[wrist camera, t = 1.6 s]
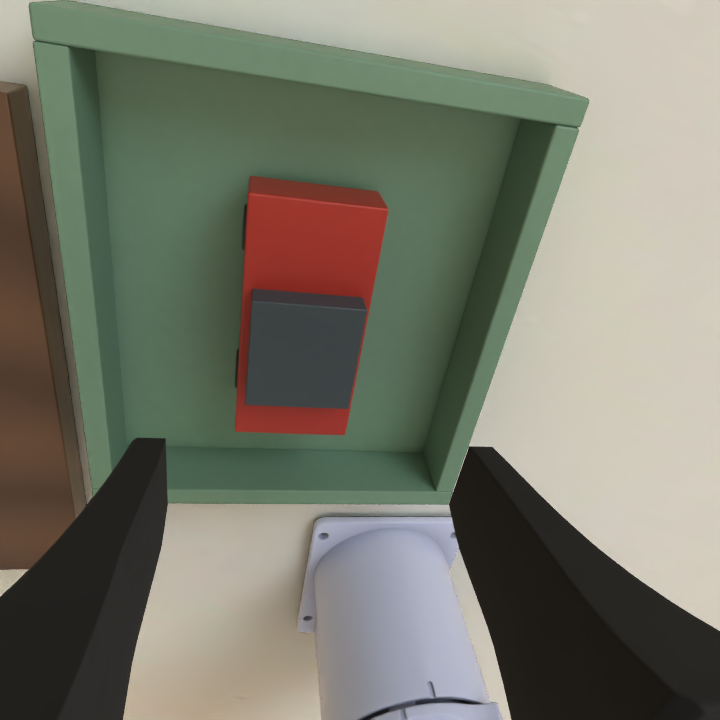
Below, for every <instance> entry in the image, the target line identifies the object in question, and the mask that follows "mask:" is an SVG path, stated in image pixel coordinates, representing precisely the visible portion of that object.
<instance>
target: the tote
mask: <svg viewBox="0 0 720 720" xmlns="http://www.w3.org/2000/svg"><path fill="white" fill-rule="evenodd" d="M29 12H30V20H31V27H32V35H33V38H34V40H36V41H34V42H33V47H34V55H35V62H36V70H37V77H38V85H39V93H40V100H41V108H42V115H43V123H44V131H45V138H46V146H47V153H48V161H49V168H50V176H51V184H52V191H53V199H54V206H55V214H56V221H57V229H58V237H59V244H60V252H61V259H62V267H63V274H64V282H65V290H66V297H67V305H68V312H69V320H70V327H71V335H72V343H73V350H74V358H75V365H76V373H77V380H78V388H79V396H80V403H81V411H82V418H83V426H84V433H85V441H86V449H87V456H88V464H89V471H90V479H91V486H92V494H93V497H94V495H95V494H96V493H97V491H98V490H99V489H100V487H101V486H102V485H103V484H104V482H105V481H106V479H107V478H108V477H109V475H110V474H111V472H112V471H113V470H114V468H115V467H116V465H117V464H118V462H119V461H120V459H121V458H122V456H123V455H124V453H125V452H126V450H127V448H128V447H129V445H130V443H131V442H132V441H133V440H134V439H136V438H166V463H167V495H168V503H199V504H440V505H448V504H449V501H450V498H451V495H452V491H453V488H454V486H455V483H456V480H457V477H458V474H459V471H460V469H461V466H462V463H463V460H464V457H465V454H466V451H467V449H468V446H469V443H470V440H471V437H472V434H473V431H474V429H475V426H476V423H477V420H478V417H479V414H480V412H481V409H482V406H483V403H484V400H485V397H486V394H487V392H488V389H489V386H490V383H491V380H492V377H493V375H494V372H495V369H496V366H497V363H498V360H499V357H500V355H501V352H502V349H503V346H504V343H505V340H506V337H507V335H508V332H509V329H510V326H511V323H512V320H513V318H514V315H515V312H516V309H517V306H518V303H519V300H520V298H521V295H522V292H523V289H524V286H525V283H526V280H527V278H528V275H529V272H530V269H531V266H532V263H533V261H534V258H535V255H536V252H537V249H538V246H539V243H540V241H541V238H542V235H543V232H544V229H545V226H546V223H547V221H548V218H549V215H550V212H551V209H552V206H553V204H554V201H555V198H556V195H557V192H558V189H559V186H560V184H561V181H562V178H563V175H564V172H565V169H566V166H567V164H568V161H569V158H570V155H571V152H572V149H573V147H574V144H575V141H576V138H577V135H578V132H579V129H578V128H577V127H580V126H581V124H582V121H583V118H584V115H585V112H586V109H587V107H588V104H589V99H588V98H585V97H583V96H580V95H577V94H574V93H571V92H568V91H565V90H562V89H559V88H556V87H553V86H551V85H547V84H542V83H536V82H530V81H525V80H519V79H513V78H507V77H502V76H496V75H490V74H485V73H479V72H473V71H468V70H462V69H456V68H451V67H445V66H439V65H433V64H428V63H422V62H416V61H411V60H405V59H399V58H394V57H388V56H382V55H376V54H371V53H365V52H359V51H354V50H348V49H342V48H337V47H331V46H325V45H320V44H314V43H308V42H302V41H297V40H291V39H285V38H280V37H274V36H268V35H263V34H257V33H251V32H245V31H240V30H234V29H228V28H223V27H217V26H211V25H206V24H200V23H194V22H189V21H183V20H177V19H171V18H166V17H160V16H154V15H149V14H143V13H137V12H132V11H126V10H120V9H114V8H109V7H103V6H97V5H92V4H86V3H80V2H75V1H69V0H58V1H43V2H31V3H29ZM250 176H257V177H265V178H273V179H282V180H290V181H298V182H306V183H314V184H322V185H330V186H338V187H346V188H354V189H363V190H371V191H378V192H379V193H380V195H381V197H382V198H383V200H384V202H385V204H386V206H387V207H388V210H389V212H388V217H387V222H386V227H385V232H384V237H383V243H382V248H381V253H380V258H379V263H378V269H377V274H376V279H375V284H374V289H373V294H372V300H371V305H370V310H369V315H368V320H367V326H366V331H365V336H364V341H363V346H362V352H361V357H360V362H359V367H358V372H357V377H356V383H355V388H354V393H353V398H352V403H351V409H350V414H349V419H348V424H347V429H346V434H345V435H319V434H286V433H253V432H236V431H235V416H236V397H237V388H235V369H236V353H237V349H239V342H240V324H241V306H242V287H243V269H244V250H242V232H243V215H244V205H245V204H247V196H248V183H249V177H250Z"/></svg>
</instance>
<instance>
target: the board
mask: <svg viewBox="0 0 720 720" xmlns="http://www.w3.org/2000/svg"><path fill="white" fill-rule="evenodd" d="M85 507H86V499H85V492H84V485H83V478H82V471H81V464H80V457H79V450H78V443H77V436H76V429H75V422H74V415H73V408H72V401H71V394H70V387H69V380H68V373H67V366H66V359H65V352H64V345H63V338H62V331H61V324H60V317H59V310H58V303H57V295H56V288H55V281H54V274H53V267H52V260H51V253H50V246H49V239H48V232H47V225H46V218H45V211H44V204H43V197H42V190H41V183H40V176H39V169H38V162H37V155H36V148H35V141H34V134H33V127H32V120H31V113H30V106H29V99H28V92H27V87H26V86H25V85H21V84H14V83H7V82H1V81H0V570H9V569H30V568H31V567H32V566H33V565H34V564H35V563H36V562H37V561H38V560H39V559H40V558H41V557H42V556H43V555H44V554H45V553H46V552H47V551H48V549H49V548H50V547H51V546H52V545H53V544H54V543H55V542H56V541H57V540H58V538H59V537H60V536H61V535H62V534H63V533H64V532H65V530H66V529H67V528H68V527H69V526H70V525H71V523H72V522H73V521H74V520H75V519H76V518H77V517H78V515H79V514H80V513H81V512H82V511H83V509H84V508H85Z"/></svg>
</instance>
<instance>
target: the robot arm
mask: <svg viewBox="0 0 720 720" xmlns="http://www.w3.org/2000/svg"><path fill="white" fill-rule="evenodd" d="M167 505H168V495H167V463H166V438H136V439H134V440H133V441H132V442H131V443H130V445H129V447H128V448H127V450H126V452H125V453H124V455H123V456H122V458H121V459H120V461H119V462H118V464H117V465H116V467H115V468H114V470H113V471H112V472H111V474H110V475H109V477H108V478H107V479H106V481H105V482H104V484H103V485H102V486H101V487H100V489H99V490H98V491H97V493H96V494H95V495H94V497H93V498H92V499H91V500H90V502H89V503H88V504H87V506H86V507H85V508H84V509H83V511H82V512H81V513H80V514H79V515H78V517H77V518H76V519H75V520H74V521H73V522H72V523H71V525H70V526H69V527H68V528H67V529H66V530H65V532H64V533H63V534H62V535H61V536H60V537H59V538H58V540H57V541H56V542H55V543H54V544H53V545H52V546H51V547H50V548H49V549H48V551H47V552H46V553H45V554H44V555H43V556H42V557H41V558H40V559H39V560H38V561H37V562H36V563H35V564H34V565H33V566H32V567H31V568H30V569H29V570H28V571H27V572H26V573H25V574H24V575H23V576H22V577H21V578H20V579H19V580H18V581H17V582H16V583H15V584H14V585H13V586H12V587H10V588H9V589H8V590H7V591H6V592H5V593H4V594H3V595H2V596H1V597H0V720H123V715H124V709H125V703H126V696H127V690H128V684H129V678H130V672H131V666H132V661H133V656H134V652H135V647H136V643H137V639H138V635H139V631H140V627H141V623H142V620H143V616H144V612H145V608H146V604H147V600H148V597H149V593H150V589H151V585H152V581H153V577H154V574H155V570H156V566H157V562H158V558H159V554H160V550H161V546H162V540H163V533H164V526H165V519H166V512H167ZM449 506H450V511H451V516H452V517H322V518H319V519H318V520H316V521H315V523H314V527H313V533H312V539H311V545H310V550H309V556H308V562H307V568H306V573H305V579H304V585H303V591H302V597H301V602H300V608H299V614H298V620H297V630H298V631H299V632H301V633H315V643H316V656H317V669H318V682H319V695H320V708H321V720H503V719H502V716H501V713H500V710H499V707H498V704H497V703H496V702H491V701H490V698H489V695H488V691H487V688H486V685H485V682H484V679H483V676H482V672H481V669H480V666H479V663H478V660H477V657H476V654H475V650H474V647H473V644H472V641H471V638H470V635H469V631H468V628H467V625H466V622H465V619H464V616H463V613H462V609H461V606H460V603H459V600H458V597H457V594H456V591H455V587H454V584H453V581H452V578H451V575H450V572H449V570H450V568H451V565H452V563H453V560H454V557H455V555H456V552H457V550H458V547H459V549H460V552H461V554H462V557H463V560H464V563H465V566H466V569H467V571H468V574H469V577H470V580H471V582H472V585H473V588H474V591H475V593H476V596H477V599H478V602H479V604H480V607H481V610H482V613H483V615H484V618H485V621H486V624H487V626H488V629H489V633H490V636H491V639H492V642H493V645H494V649H495V653H496V657H497V661H498V665H499V669H500V673H501V677H502V680H503V684H504V689H505V693H506V697H507V702H508V706H509V710H510V715H511V719H512V720H720V631H718V630H717V629H715V628H713V627H712V626H710V625H708V624H707V623H705V622H703V621H701V620H700V619H698V618H696V617H695V616H693V615H691V614H690V613H688V612H687V611H685V610H683V609H682V608H680V607H679V606H677V605H676V604H674V603H672V602H671V601H669V600H668V599H666V598H665V597H663V596H662V595H660V594H659V593H658V592H656V591H655V590H653V589H652V588H650V587H649V586H647V585H646V584H644V583H643V582H641V581H640V580H639V579H637V578H636V577H635V576H633V575H632V574H630V573H629V572H628V571H626V570H625V569H624V568H623V567H621V566H620V565H619V564H617V563H616V562H615V561H614V560H612V559H611V558H610V557H608V556H607V555H606V554H605V553H603V552H602V551H601V550H600V549H598V548H597V547H596V546H595V545H594V544H592V543H591V542H590V541H589V540H588V539H587V538H586V537H584V536H583V535H582V534H581V533H580V532H579V531H578V530H577V529H575V528H574V527H573V526H572V525H571V524H570V523H569V522H568V521H567V520H565V519H564V518H563V517H562V516H561V515H560V514H559V513H558V512H557V511H556V510H555V509H554V508H553V507H552V506H551V505H550V504H549V503H548V502H547V501H546V500H545V499H544V498H543V497H541V496H540V495H539V494H538V493H537V492H536V491H535V490H534V489H533V488H532V486H531V485H530V484H529V483H528V482H527V481H526V480H525V479H524V478H523V477H522V476H521V475H520V474H519V473H518V472H517V471H516V470H515V469H514V468H513V467H512V466H511V465H510V464H509V463H508V462H507V461H506V460H505V459H504V458H503V457H502V456H501V455H500V454H499V453H498V452H497V451H496V450H495V449H494V448H493V447H469V449H468V452H467V455H466V458H465V460H464V463H463V466H462V469H461V472H460V475H459V477H458V480H457V483H456V486H455V489H454V492H453V494H452V497H451V500H450V503H449Z"/></svg>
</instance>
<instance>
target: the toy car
mask: <svg viewBox="0 0 720 720" xmlns="http://www.w3.org/2000/svg"><path fill="white" fill-rule="evenodd" d="M388 212H389V210H388V207H387V206H386V204H385V202H384V200H383V198H382V197H381V195H380V193H379V192H378V191H371V190H363V189H354V188H346V187H338V186H330V185H322V184H314V183H306V182H298V181H290V180H282V179H273V178H265V177H257V176H250V177H249V183H248V196H247V204H245V205H244V215H243V232H242V250H244V269H243V287H242V306H241V324H240V342H239V349H237V353H236V369H235V388H237V397H236V416H235V431H236V432H253V433H286V434H319V435H345V434H346V429H347V424H348V419H349V414H350V409H351V403H352V398H353V393H354V388H355V383H356V377H357V372H358V367H359V362H360V357H361V352H362V346H363V341H364V336H365V331H366V326H367V320H368V315H369V310H370V305H371V300H372V294H373V289H374V284H375V279H376V274H377V269H378V263H379V258H380V253H381V248H382V243H383V237H384V232H385V227H386V222H387V217H388Z"/></svg>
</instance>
